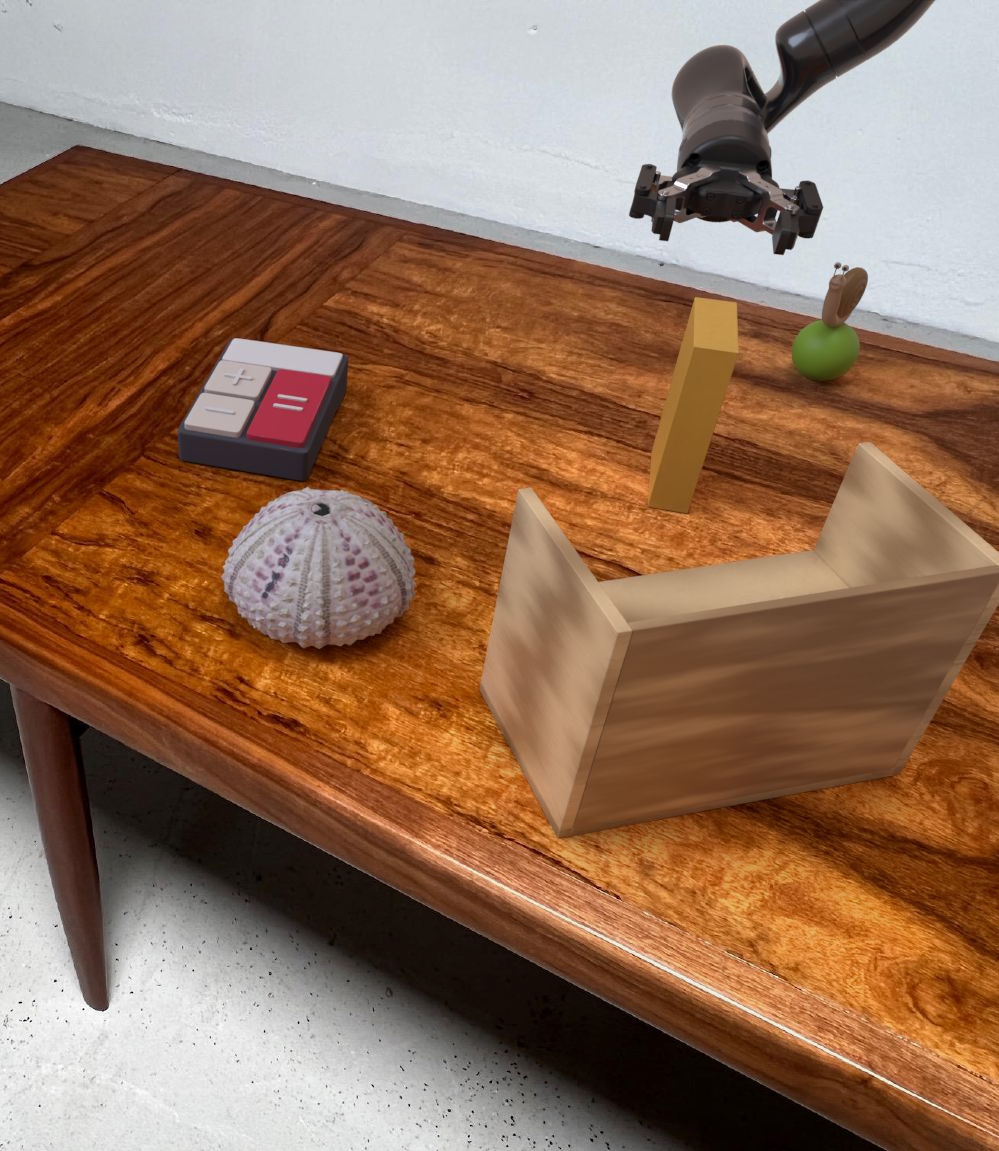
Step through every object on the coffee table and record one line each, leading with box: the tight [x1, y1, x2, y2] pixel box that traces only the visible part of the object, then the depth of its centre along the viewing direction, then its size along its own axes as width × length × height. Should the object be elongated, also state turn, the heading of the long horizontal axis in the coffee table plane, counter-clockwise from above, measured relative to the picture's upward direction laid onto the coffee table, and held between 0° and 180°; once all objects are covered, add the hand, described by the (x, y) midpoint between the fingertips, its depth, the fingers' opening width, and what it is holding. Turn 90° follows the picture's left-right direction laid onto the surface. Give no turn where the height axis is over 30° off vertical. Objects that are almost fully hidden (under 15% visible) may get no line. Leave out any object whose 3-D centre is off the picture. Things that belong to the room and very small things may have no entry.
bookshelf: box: [479, 441, 999, 839], centre depth 65 cm, size 12×22×16 cm, turn 102°
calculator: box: [177, 337, 349, 482], centre depth 96 cm, size 11×4×15 cm
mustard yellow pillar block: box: [647, 296, 740, 514], centre depth 86 cm, size 3×8×14 cm, turn 162°
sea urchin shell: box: [220, 486, 417, 650], centre depth 77 cm, size 13×14×8 cm
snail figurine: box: [790, 261, 869, 382], centre depth 99 cm, size 5×6×12 cm
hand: (723, 236), depth 87 cm, fingers open, 8 cm apart
